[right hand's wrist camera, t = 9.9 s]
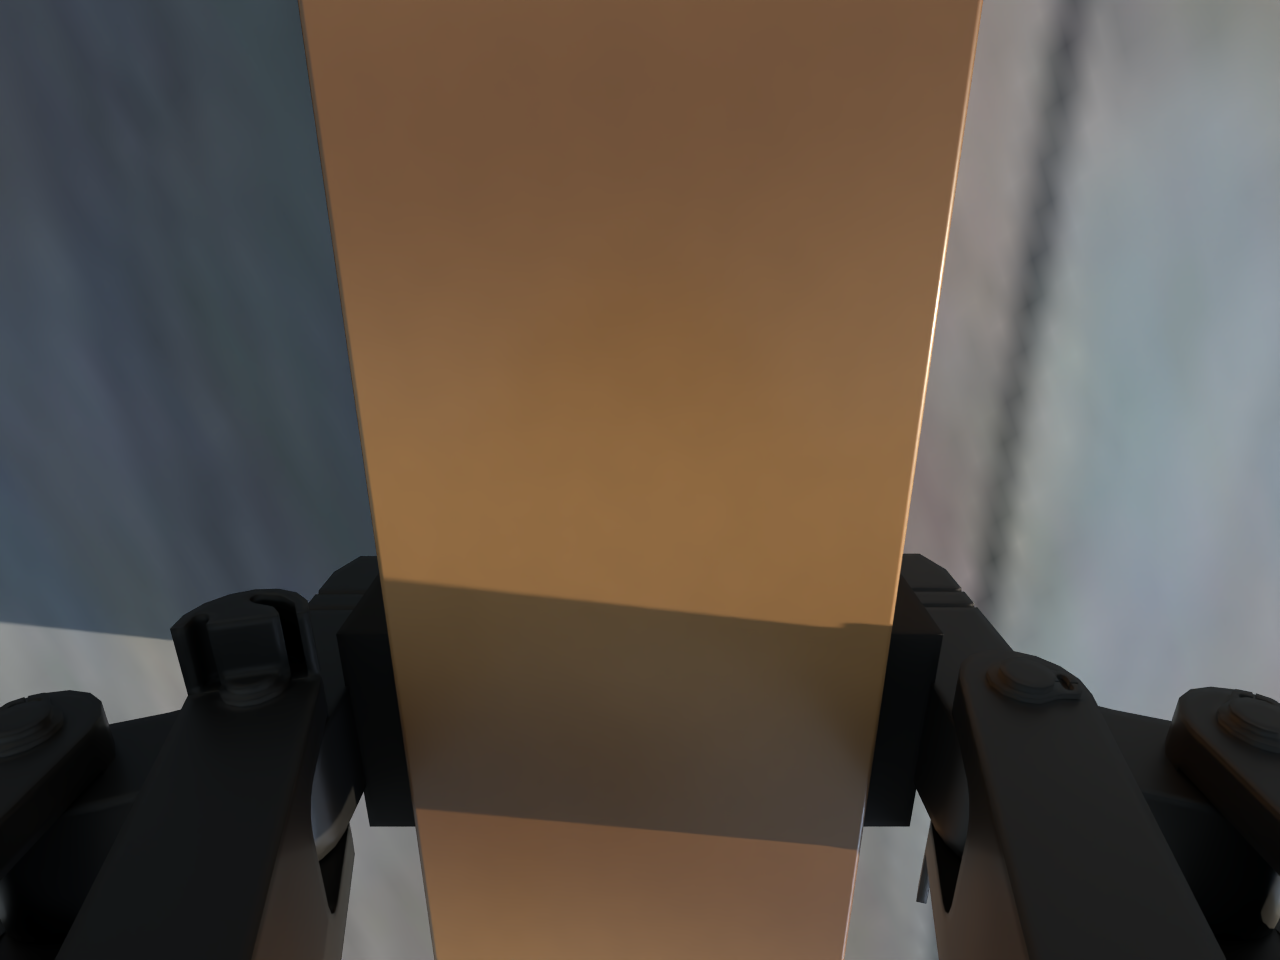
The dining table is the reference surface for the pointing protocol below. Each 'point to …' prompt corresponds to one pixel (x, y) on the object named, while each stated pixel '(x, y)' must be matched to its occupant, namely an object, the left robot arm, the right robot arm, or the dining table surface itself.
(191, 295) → the dining table surface
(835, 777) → the beam
